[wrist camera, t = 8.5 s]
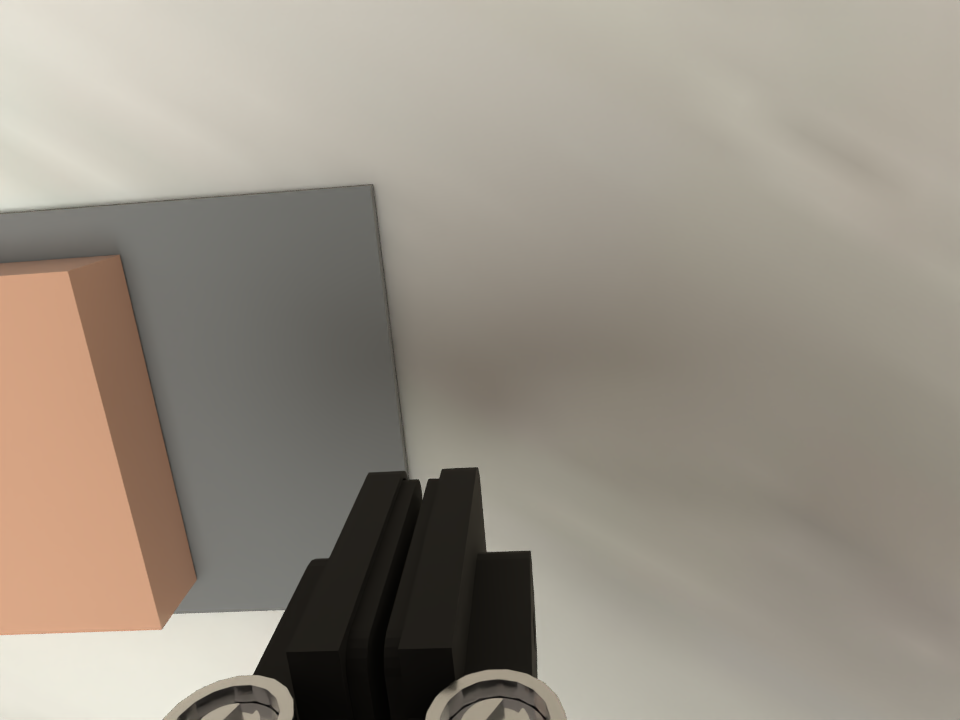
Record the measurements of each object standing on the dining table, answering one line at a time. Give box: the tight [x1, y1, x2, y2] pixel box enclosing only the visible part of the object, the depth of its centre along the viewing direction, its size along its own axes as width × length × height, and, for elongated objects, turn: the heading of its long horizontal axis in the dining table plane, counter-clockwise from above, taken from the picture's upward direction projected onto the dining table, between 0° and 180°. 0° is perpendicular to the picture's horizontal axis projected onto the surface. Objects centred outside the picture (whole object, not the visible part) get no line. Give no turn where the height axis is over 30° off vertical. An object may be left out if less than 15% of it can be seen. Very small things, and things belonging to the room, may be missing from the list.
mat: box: [0, 185, 409, 614], centre depth 16 cm, size 10×14×1 cm
